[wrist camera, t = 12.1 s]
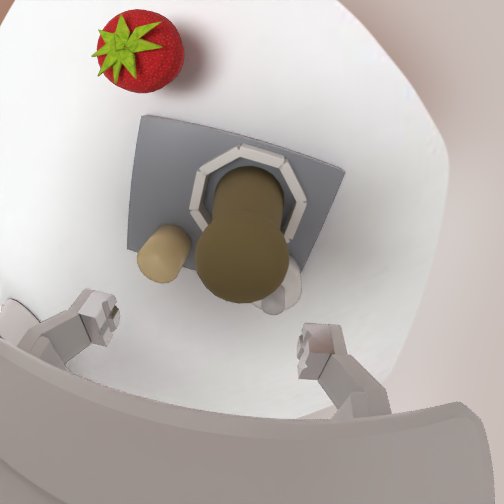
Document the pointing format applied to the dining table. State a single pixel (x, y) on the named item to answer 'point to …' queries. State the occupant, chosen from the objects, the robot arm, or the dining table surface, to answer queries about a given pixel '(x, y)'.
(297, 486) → the robot arm
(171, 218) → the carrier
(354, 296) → the dining table surface
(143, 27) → the strawberry
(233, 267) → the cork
